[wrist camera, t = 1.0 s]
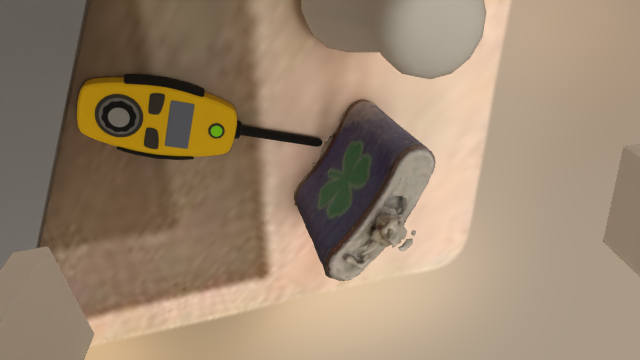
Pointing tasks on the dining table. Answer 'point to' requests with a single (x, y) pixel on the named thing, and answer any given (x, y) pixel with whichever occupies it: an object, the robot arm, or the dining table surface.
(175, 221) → the dining table surface
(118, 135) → the yellow walkie-talkie
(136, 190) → the dining table surface
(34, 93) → the plate
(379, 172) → the flask
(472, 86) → the dining table surface
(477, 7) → the salt shaker
